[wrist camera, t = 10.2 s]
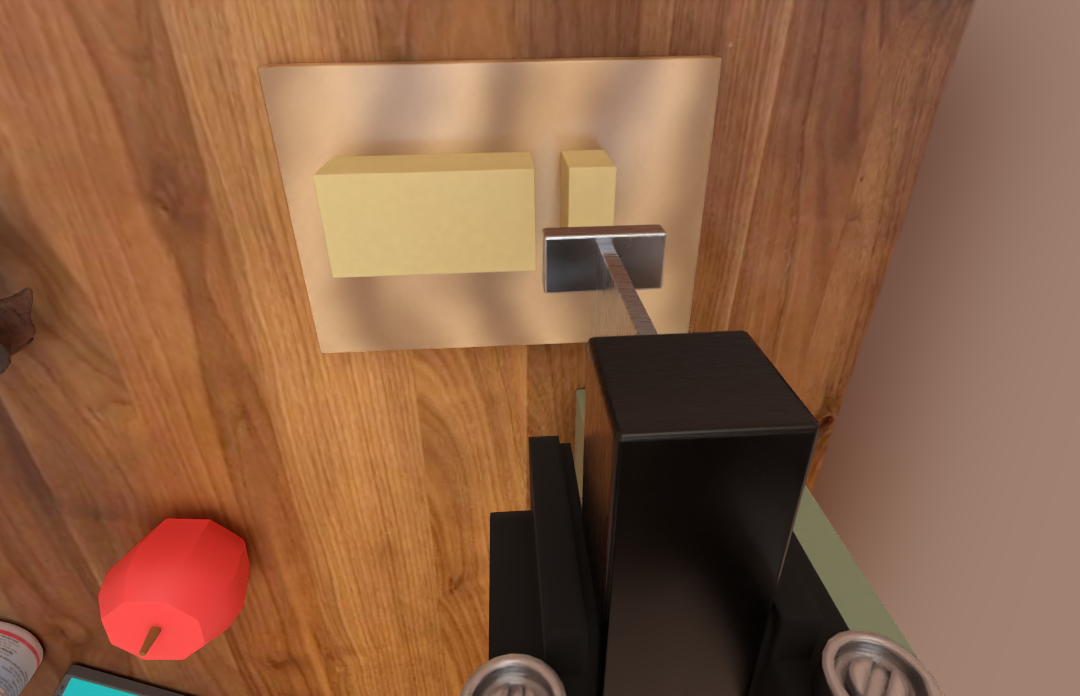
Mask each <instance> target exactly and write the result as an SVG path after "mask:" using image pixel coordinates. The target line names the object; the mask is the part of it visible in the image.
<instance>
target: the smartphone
mask: <svg viewBox="0 0 1080 696" xmlns="http://www.w3.org/2000/svg"><path fill="white" fill-rule="evenodd" d="M54 696H185V695H181V694H178V693H174V692H170V691H167V690H163V689H160V688H156V687H153V686H149V685H146V684H142V683H139V682H135V681H132V680H128V679H124V678H121V677H117V676H114V675H110V674H107V673H103V672H100V671H96V670H93V669H89V668H86V667H82V666H78V665H72V666H71V667H70V668H69V670H68V671H67V673H66V675H65V676H64V678H63V680H62V682H61V684H60V686H59V688H58V689H57V691H56V693H55V695H54Z"/></svg>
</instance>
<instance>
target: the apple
mask: <svg viewBox="0 0 1080 696" xmlns="http://www.w3.org/2000/svg"><path fill="white" fill-rule="evenodd" d="M249 572H250V564H249V560H248V555H247V550H246V545H245V541H244V540H243V539H242V538H240V537H239V536H238V535H236V534H235V533H233V532H231V531H229V530H228V529H226V528H224V527H223V526H221V525H219V524H217V523H216V522H214V521H212V520H210V519H170V518H167V519H165V520H164V521H163V522H162V523H161V524H159V525H158V526H157V527H156V528H155V529H153V530H152V531H151V532H150V533H149V534H147V535H146V536H145V537H144V538H143V539H142V540H141V541H140V542H139V543H137V544H136V545H135V546H134V547H133V548H132V549H131V550H130V551H129V552H128V553H127V554H126V555H125V556H124V557H123V558H122V559H121V560H120V561H119V562H118V563H117V564H116V565H115V566H114V567H113V568H112V569H111V570H110V571H109V572H108V573H107V575H106V577H105V580H104V582H103V585H102V587H101V590H100V592H99V595H98V599H99V606H100V614H101V620H102V622H103V625H104V627H105V630H106V632H107V635H108V637H109V640H110V642H111V644H113V645H115V646H117V647H119V648H121V649H123V650H125V651H127V652H129V653H132V654H134V655H136V656H138V657H140V658H142V659H144V660H183V659H185V658H186V657H188V656H189V655H191V654H192V653H194V652H195V651H197V650H198V649H200V648H201V647H203V646H204V645H206V644H207V643H208V642H210V641H211V640H213V639H214V638H215V637H217V636H218V635H220V634H221V633H222V632H224V631H225V630H227V629H228V628H229V627H230V625H231V624H232V623H233V621H234V620H235V618H236V617H237V615H238V614H239V613H240V611H241V610H242V608H243V605H244V600H245V594H246V589H247V583H248V578H249Z"/></svg>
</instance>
